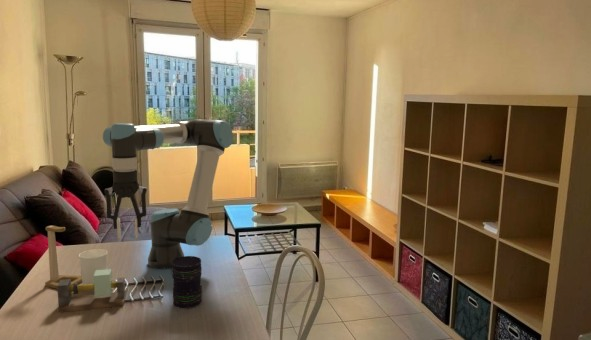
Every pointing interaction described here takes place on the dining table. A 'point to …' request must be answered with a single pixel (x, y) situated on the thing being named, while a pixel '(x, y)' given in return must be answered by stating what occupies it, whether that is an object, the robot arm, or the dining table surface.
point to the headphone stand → (53, 260)
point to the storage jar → (187, 282)
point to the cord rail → (88, 296)
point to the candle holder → (92, 264)
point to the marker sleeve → (103, 282)
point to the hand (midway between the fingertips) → (128, 236)
